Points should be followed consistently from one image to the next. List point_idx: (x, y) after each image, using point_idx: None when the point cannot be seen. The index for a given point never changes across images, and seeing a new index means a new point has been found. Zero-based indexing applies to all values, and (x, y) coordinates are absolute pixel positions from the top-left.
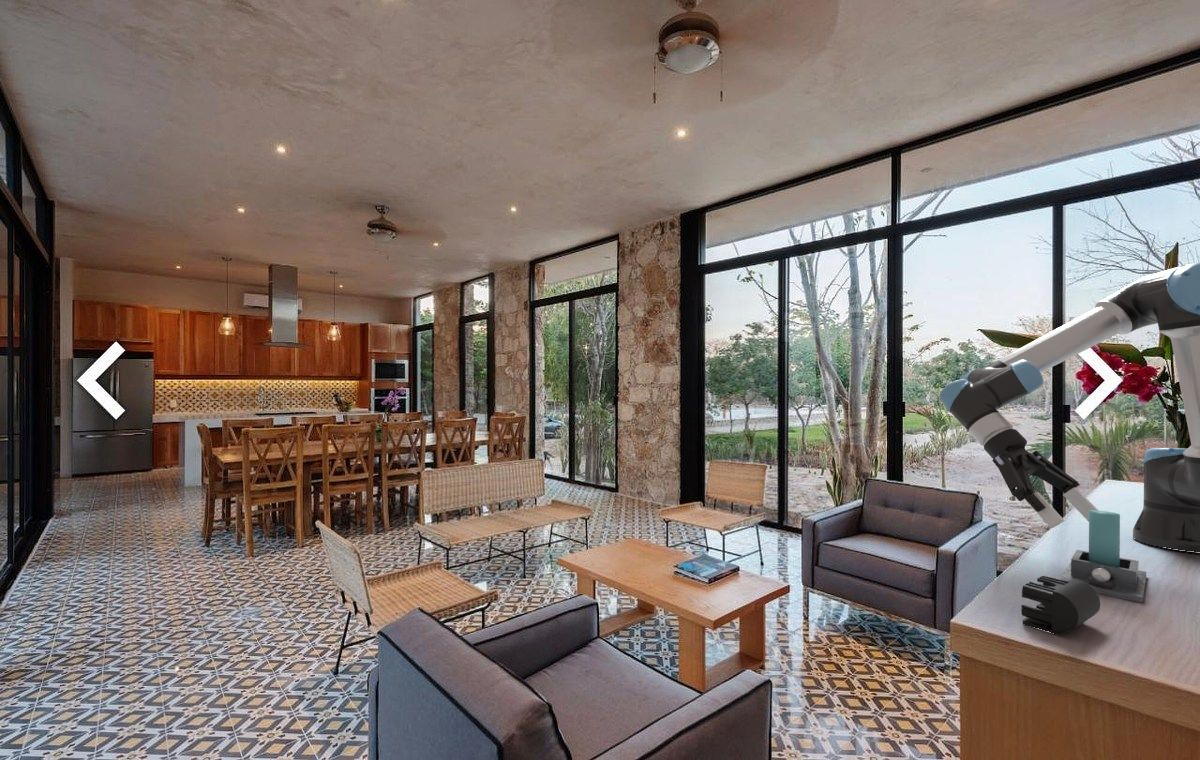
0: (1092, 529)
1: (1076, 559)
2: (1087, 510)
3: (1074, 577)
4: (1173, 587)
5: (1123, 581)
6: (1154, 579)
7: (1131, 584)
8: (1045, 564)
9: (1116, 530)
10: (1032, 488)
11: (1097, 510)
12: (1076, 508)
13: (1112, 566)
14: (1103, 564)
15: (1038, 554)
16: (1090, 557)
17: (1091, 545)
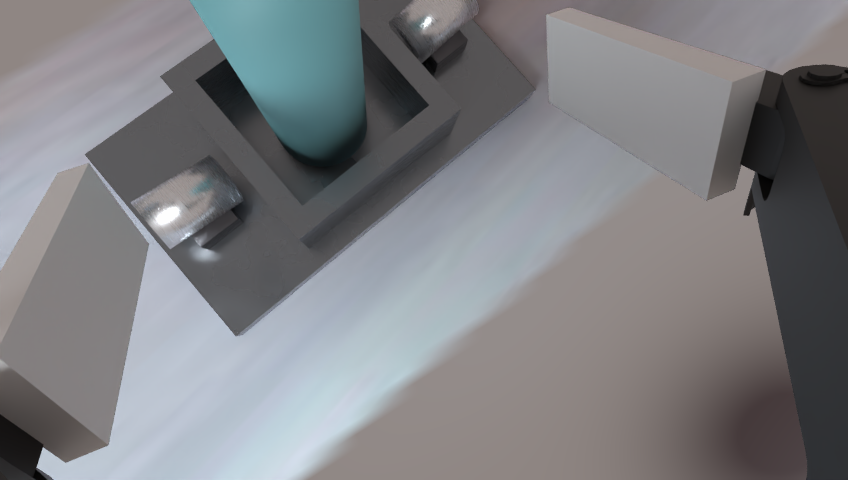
0: (359, 29)
1: (439, 105)
2: (108, 238)
3: (463, 105)
4: (117, 59)
5: None
6: (93, 136)
7: None
8: (392, 311)
9: None
10: (804, 96)
11: (231, 18)
12: (134, 312)
13: (365, 19)
14: (380, 41)
15: (301, 452)
16: (362, 112)
17: (361, 81)
